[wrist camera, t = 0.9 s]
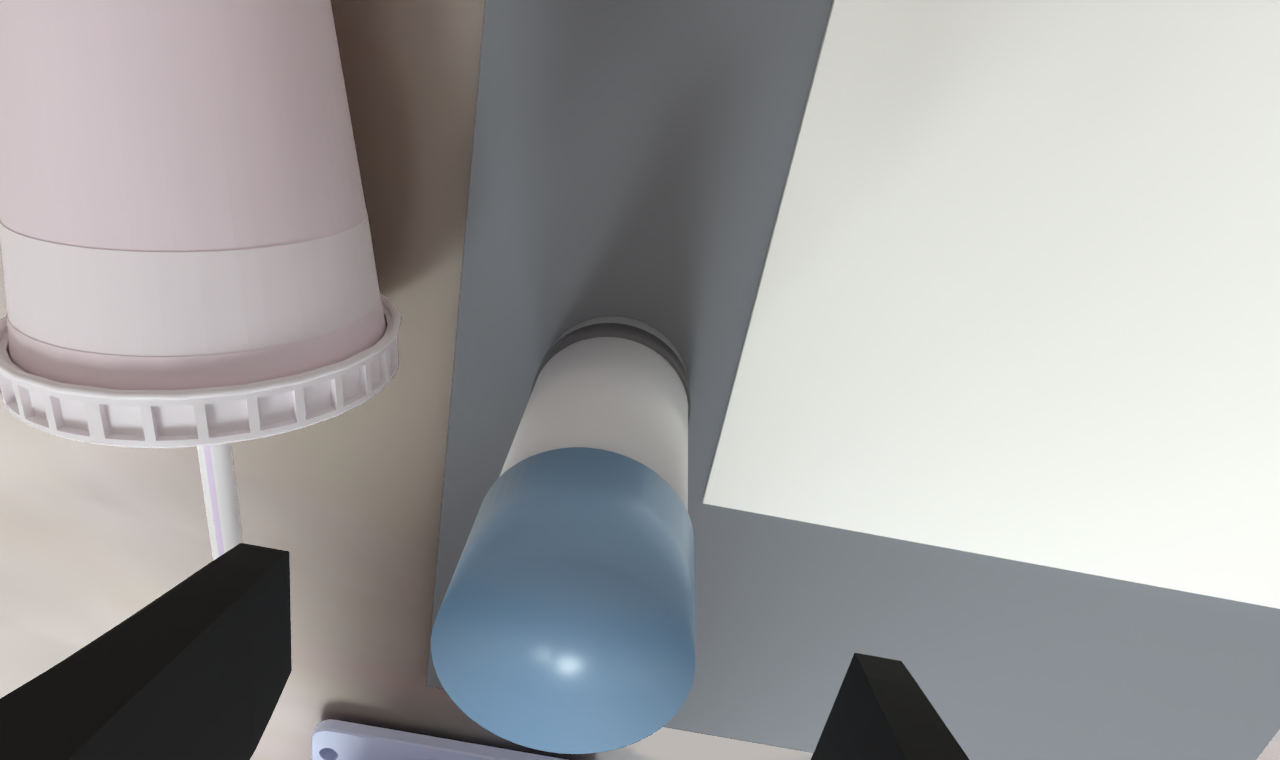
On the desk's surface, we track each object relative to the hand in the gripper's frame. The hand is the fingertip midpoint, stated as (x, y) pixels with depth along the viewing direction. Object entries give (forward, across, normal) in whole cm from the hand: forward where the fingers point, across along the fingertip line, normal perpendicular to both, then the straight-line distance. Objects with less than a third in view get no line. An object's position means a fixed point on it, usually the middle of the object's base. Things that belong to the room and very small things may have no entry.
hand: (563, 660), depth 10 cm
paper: (+8, -10, -3) cm, 14 cm away
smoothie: (+6, +8, -10) cm, 14 cm away
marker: (+8, 0, 0) cm, 8 cm away
